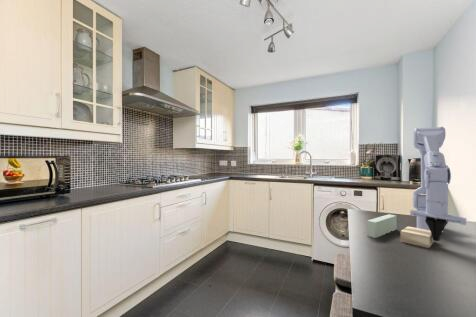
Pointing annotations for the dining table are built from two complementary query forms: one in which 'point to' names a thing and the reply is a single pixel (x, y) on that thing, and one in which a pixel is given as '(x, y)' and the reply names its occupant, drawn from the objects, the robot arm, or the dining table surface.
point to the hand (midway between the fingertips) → (436, 240)
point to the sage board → (381, 225)
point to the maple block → (417, 236)
